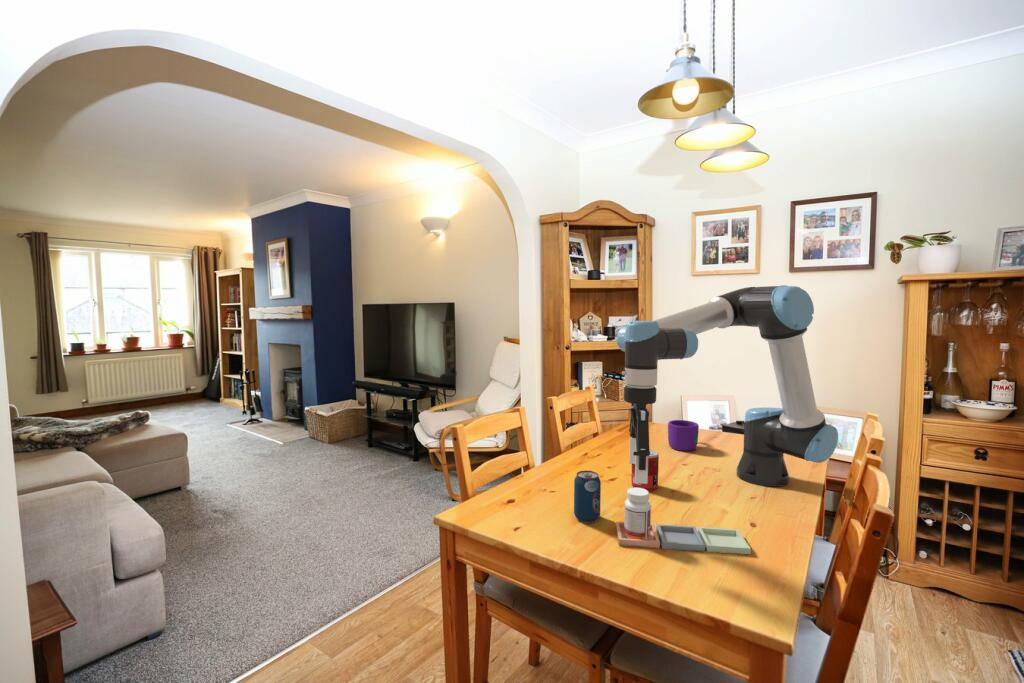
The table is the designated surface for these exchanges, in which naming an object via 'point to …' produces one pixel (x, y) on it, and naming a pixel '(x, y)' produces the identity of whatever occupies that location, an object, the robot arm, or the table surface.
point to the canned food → (649, 472)
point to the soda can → (587, 496)
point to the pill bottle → (637, 514)
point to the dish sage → (723, 540)
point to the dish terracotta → (624, 541)
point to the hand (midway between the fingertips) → (637, 472)
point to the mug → (683, 435)
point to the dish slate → (680, 537)
